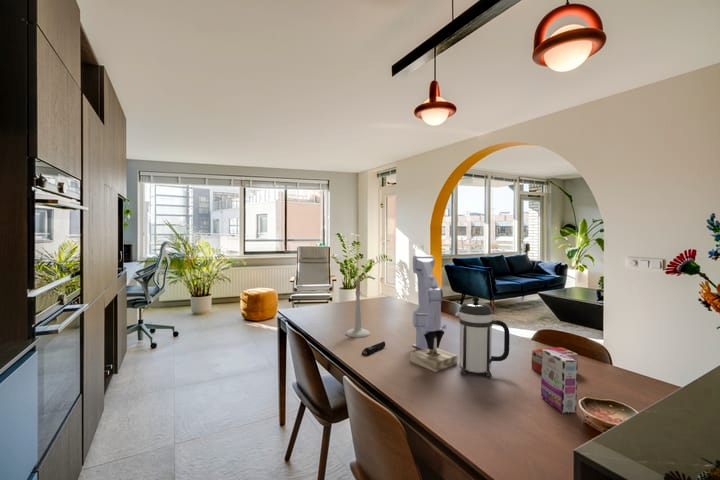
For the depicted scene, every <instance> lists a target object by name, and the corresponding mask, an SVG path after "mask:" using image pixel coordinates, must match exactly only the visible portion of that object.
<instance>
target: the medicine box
mask: <svg viewBox="0 0 720 480" xmlns="http://www.w3.org/2000/svg"><path fill="white" fill-rule="evenodd" d="M543 349H544V348H541V349H532V351H531V370H533V371H535V370H536V371H535V372H537V371H538V373H540V374H542V350H543ZM547 349H555V350H557V351H559V352H561V353H563V354H565V355H567V356H569V357H571V358H573V359H575V360H577V361H578V353H576V352H573V350H572V351H571V350H569V349H567V348H564V347H561V346H559V347H548V348H547ZM578 362H579V361H578Z"/></svg>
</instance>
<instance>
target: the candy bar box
mask: <svg viewBox="0 0 720 480" xmlns="http://www.w3.org/2000/svg"><path fill="white" fill-rule="evenodd" d="M542 349H543V350H542V373H541V387H540V397H541V396H542V397H543V398H544V399H543V398H542V397H541V398H542V399H543V400H545V399H546V400H547V401H548V402H549V404H550V403H551V404H552V405H553V406H552V405H551V404H550V405H551V406H552V407H553V408H555V407H556V408H557V409H558V410H557V409H556V408H555V409H556V410H557V411H559V412H560V411H561V412H562V413H561V412H560V413H561V414H573V413H572V412H576V413H577V403H578V402H577V401H578V400H577V397H578V396H577V395H578V394H577V393H578V363H579V361H577V360H575V359H573V358H571V357H569V356H567V355H565V354H563V353H561V352H559V351H557V350H555V349H548V348H542ZM546 400H545V401H546ZM547 401H546V402H547ZM548 402H547V403H548ZM568 412H569V413H568Z"/></svg>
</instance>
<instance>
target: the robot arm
mask: <svg viewBox="0 0 720 480" xmlns="http://www.w3.org/2000/svg"><path fill="white" fill-rule="evenodd" d="M435 261H436V260H435V257H434V255H416V254H414V255H413V256H412V270H413V273H415V274H416V277H417V297H418V299H417V300H418V307H417V308H416V309H415V310H414V311H413V314H412V325H413V327H414V328H415V343H413V344H411V345H412V347H415V348H418V349H419V350H421V349H425V348H428V349H431V350H433V347H434V339H435V336H437V348H438V349H440V343H441V341H442V338H443V336H444V335H445V330H447V324H446V323H441V318H442V317H441V312H442V308H441V307H442V302H443V299H444V292H443V288H442V287H441V286H439V283H438V280H437V277H436V276H434V274H433V269H434V267H435Z"/></svg>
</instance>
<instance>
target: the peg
mask: <svg viewBox="0 0 720 480" xmlns="http://www.w3.org/2000/svg"><path fill="white" fill-rule="evenodd" d="M429 353H430V354H437V336H435V339H434V347H433V350H431V349H429Z"/></svg>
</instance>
